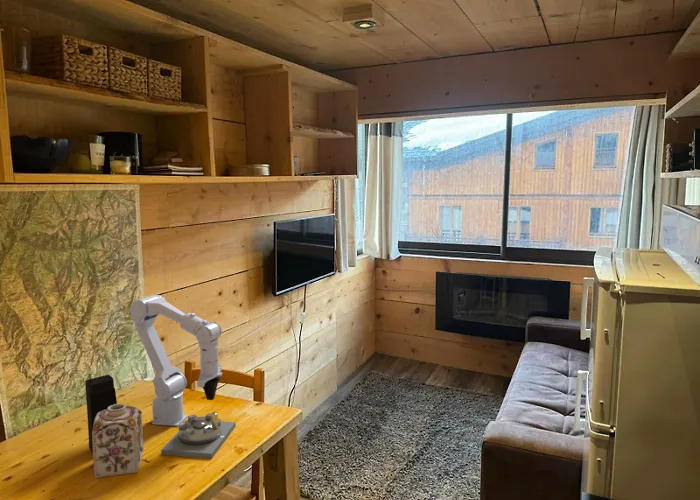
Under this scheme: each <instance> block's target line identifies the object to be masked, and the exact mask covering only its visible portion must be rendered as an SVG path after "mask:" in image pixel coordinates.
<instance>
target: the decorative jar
mask: <svg viewBox="0 0 700 500" xmlns="http://www.w3.org/2000/svg"><path fill="white" fill-rule="evenodd" d="M142 414H143V412H142V410H140V408H137V407H135V406H131V405H128V404H127V405H125V404H124V403H117V404H114V405H111V406H109V407H108V409H105V410H103V411H101V412H98V413H97V415H96V417H95V420H94V426H93V431H92V442H93V453H92V458H93V459H92V460H93V473H94V478H95V479H99V478H100V479H101V478H108V477H114V476H122V475H130V474H136V473H138V472H139V471H140V467H141V463H142V459H143V454H144V435H143V433H144V432H143V430H144V429H143V417H142Z"/></svg>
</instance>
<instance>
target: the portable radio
mask: <svg viewBox="0 0 700 500" xmlns="http://www.w3.org/2000/svg"><path fill="white" fill-rule="evenodd" d="M91 375H92V374H91V373H89V374H88V379H85V381H84V383H85V384H84V385H85V397H86V414H87V430H88V431H87V432H88V449H89V451H90V452H91V454H93V442H92V431H93V426H94V420H95V417H96V415H97V413H98V412H101V411H103V410H105V409H108V407H109V406H111V405H114V404H118V401H117V400H118V399H117V392H116V388H115V384H114V383H115V381H114V377H113V376H111V374H105V375H101V376H97V377H94V378H91V377H92V376H91Z"/></svg>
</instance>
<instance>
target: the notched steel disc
mask: <svg viewBox="0 0 700 500" xmlns="http://www.w3.org/2000/svg"><path fill="white" fill-rule="evenodd" d="M221 421H222V419H221V418H219V413H218V412H216V411H213V412H208V413H206V414H205V415H203V416H198V415H196V414H194V413H193V414H190V415H188V416H187V420H186V419H185V420H184V421H183V422H179V426H178V432H179V440H180V441H181V442H182V443H184V444H187V445H202V444H207V443H210V442H212V441H214V440H216V439H217V438H219V437H220V435H221Z"/></svg>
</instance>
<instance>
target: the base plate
mask: <svg viewBox="0 0 700 500" xmlns="http://www.w3.org/2000/svg"><path fill="white" fill-rule="evenodd" d="M235 428H236V421H224V420H223V421H222V420H221V435H220V437H219V438H217V439H216V440H214V441H212V442H210V443H207V444H202V445H187V444H184V443H182V442H181V441H180V440H179V431H178V432H176V434H175V435H174V436H173V437H172V438H171V439H170V440H169V441H168V442H167V443H166V444H165V445H164V447H162V448H161V452H160V453H161V455H164V456H165V455H166V456H178V457H187V458H188V457H189V458H203V459H213V457H215V455H216V454H217V452H218V451H219V450H220V448H221V447H222V445H223V444H224V443H225V442H226V441H227V439H228V438H229V436H230V435H231V433H232V431H234V429H235Z"/></svg>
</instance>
